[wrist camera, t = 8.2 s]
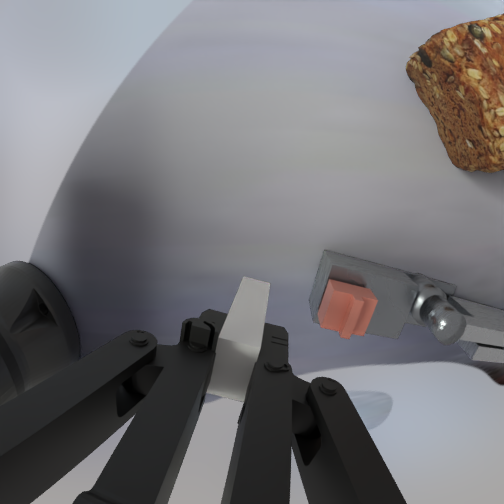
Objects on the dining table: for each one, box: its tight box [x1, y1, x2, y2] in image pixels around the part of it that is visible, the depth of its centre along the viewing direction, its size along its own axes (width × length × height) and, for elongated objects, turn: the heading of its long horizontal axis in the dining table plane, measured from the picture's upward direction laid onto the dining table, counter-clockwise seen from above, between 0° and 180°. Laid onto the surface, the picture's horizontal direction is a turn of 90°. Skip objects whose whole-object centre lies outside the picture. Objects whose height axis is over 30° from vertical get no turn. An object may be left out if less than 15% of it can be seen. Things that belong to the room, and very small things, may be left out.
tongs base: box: [309, 250, 504, 363], centre depth 20 cm, size 31×4×7 cm, turn 77°
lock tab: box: [318, 279, 378, 339], centre depth 19 cm, size 3×3×3 cm
